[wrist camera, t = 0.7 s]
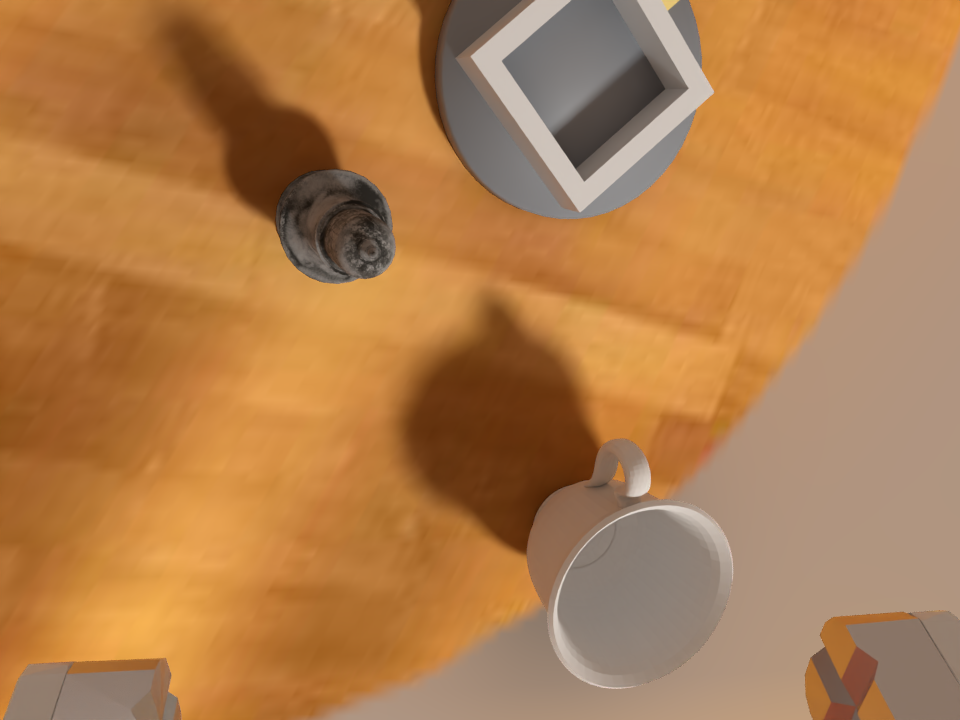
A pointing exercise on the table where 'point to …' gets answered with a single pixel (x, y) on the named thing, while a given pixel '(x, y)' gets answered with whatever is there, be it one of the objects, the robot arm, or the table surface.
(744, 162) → the table surface
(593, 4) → the socket stand
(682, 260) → the table surface
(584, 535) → the teacup
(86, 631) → the table surface
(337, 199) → the dark grey tapered piece
